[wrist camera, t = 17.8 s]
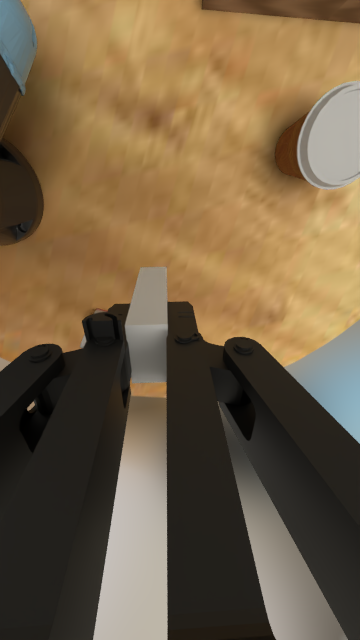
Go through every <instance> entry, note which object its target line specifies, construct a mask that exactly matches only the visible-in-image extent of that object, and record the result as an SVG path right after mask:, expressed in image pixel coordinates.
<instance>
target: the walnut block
mask: <svg viewBox="0 0 360 640" xmlns="http://www.w3.org/2000/svg"><path fill="white" fill-rule="evenodd" d="M202 9H207V10H218V11H229V12H240V13H251V14H263V15H274V16H285V17H296V18H308V19H319V20H330V21H341V22H352V23H360V0H202Z"/></svg>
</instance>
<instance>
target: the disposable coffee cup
mask: <svg viewBox="0 0 360 640" xmlns="http://www.w3.org/2000/svg"><path fill="white" fill-rule="evenodd" d="M275 159H276V163H277V166H278V167H279V169H280V170H281V171H282V172H283V173H285V174H288V175H291V176H294V177H297V178H300V179H304V180H307V181H308V182H309V183H310V184H312V185H313V186H315V187H318V188H321V189H326V190H328V189H337V188H341V187H344V186H346V185H348V184H350V183H352V182H353V181H355V180H356V179H358V178H359V177H360V81H352V82H347V83H343V84H341V85H339V86H337V87H334V88H333V89H331V90H330V91H328V92H327V93H326V94H325V95H324V96H322V97H321V98H320V99H319V100H318V101H317V103H316V104H315V105H314V106H313V107H312V109H311V110H310V111H309V112H308V113H307V114H305V115H304V116H303V117H302V118H301V119H299V120H298V121H297V122H296V123H294V124H293V125H292V126H290V127H289V128H288V129H287V130H286V131H285V132H284V133H283V134H282V135H281V137H280V139H279V141H278V143H277V146H276V151H275Z"/></svg>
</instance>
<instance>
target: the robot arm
mask: <svg viewBox="0 0 360 640" xmlns="http://www.w3.org/2000/svg"><path fill="white" fill-rule="evenodd" d="M36 52H37V38H36V33H35V30H34V26H33V24H32V21H31V19H30V17H29V15H28V13H27V11H26V9H25V8H24V6H23V4H22V3H21V1H20V0H0V246H2V245H10V244H13V243H16V242H19V241H21V240H23V239H25V238H27V237H29V236H30V235H31V234H32V233H33V232H34V231H35V230H36V229H37V227H38V225H39V223H40V221H41V218H42V214H43V195H42V190H41V187H40V184H39V181H38V179H37V176H36V174H35V172H34V171H33V169H32V167H31V166H30V164H29V163H28V161H27V160H26V159H25V158H24V156H23V155H22V154H21V153H20V152H19V151H18V150H17V149H16V148H15V147H14V146H13V145H12V144H10V143H9V142H8V141H6V140H5V139H3V138H2V137H3V135H4V132H5V130H6V128H7V126H8V123H9V121H10V119H11V117H12V114H13V112H14V110H15V108H16V105H17V103H18V101H19V99H20V96H21V95H22V96H24V94H25V92H26V88H25V83H26V80H27V77H28V75H29V72H30V69H31V66H32V64H33V61H34V59H35V56H36ZM82 324H83V328H84V333H85V337H86V343H85V345H84V347H83V348H82V349H78V350H75V351H70V352H66V353H63V352H62V348H61V347H59V346H58V345H55V344H42V345H37V346H35V347H32V348H30V349H28V350H27V351H25V352H23V353H22V354H21V355H20V356H19V357H17V358H16V359H15V360H14V361H12V362H11V363H10V364H9V365H8V366H6V367H5V368H4V369H3V370H2V371H1V372H0V640H93V635H94V629H95V622H96V616H97V609H98V603H99V597H100V590H101V583H102V577H103V570H104V564H105V557H106V551H107V545H108V539H109V532H110V526H111V519H112V513H113V506H114V499H115V493H116V486H117V480H118V473H119V467H120V461H121V454H122V448H123V441H124V435H125V428H126V421H127V415H128V409H129V402H130V396H131V389H130V378H132V383H151V382H167V571H168V572H167V573H168V574H167V580H168V582H167V585H168V586H167V587H168V640H276V639H275V637H274V635H273V632H272V629H271V626H270V624H269V620H268V617H267V613H266V609H265V605H264V600H263V596H262V592H261V587H260V583H259V579H258V575H257V570H256V566H255V562H254V557H253V553H252V549H251V544H250V540H249V536H248V531H247V527H246V523H245V518H244V514H243V510H242V505H241V501H240V497H239V493H238V488H237V484H236V480H235V475H234V471H233V467H232V463H231V458H230V454H229V449H228V445H227V441H226V436H225V432H224V428H223V423H222V419H221V415H220V410H219V406H218V402H219V405H220V407H221V409H222V411H223V413H224V415H225V416H226V418H227V420H228V422H229V423H230V425H231V427H232V429H233V431H234V433H235V434H236V436H237V438H238V440H239V442H240V444H241V445H242V447H243V449H244V451H245V453H246V455H247V456H248V458H249V460H250V462H251V464H252V465H253V467H254V469H255V471H256V473H257V474H258V476H259V478H260V480H261V482H262V484H263V486H264V487H265V489H266V491H267V493H268V495H269V496H270V498H271V500H272V502H273V504H274V505H275V507H276V509H277V511H278V513H279V515H280V517H281V518H282V520H283V522H284V524H285V525H286V527H287V529H288V531H289V533H290V535H291V537H292V538H293V540H294V542H295V544H296V545H297V547H298V549H299V551H300V553H301V555H302V557H303V558H304V560H305V562H306V564H307V565H308V567H309V569H310V571H311V573H312V575H313V577H314V578H315V580H316V582H317V584H318V586H319V588H320V589H321V591H322V593H323V595H324V597H325V598H326V600H327V602H328V604H329V606H330V608H331V609H332V611H333V613H334V615H335V617H336V618H337V620H338V622H339V624H340V626H341V627H342V629H343V631H344V633H345V635H346V637H347V638H348V640H360V444H359V443H358V442H357V441H356V440H355V439H354V438H353V437H352V436H351V435H350V434H349V433H348V432H347V431H346V430H345V429H344V428H343V427H342V426H341V425H340V424H339V423H338V422H337V421H336V420H335V419H334V418H333V417H332V416H331V415H330V414H329V413H328V412H327V411H326V410H325V409H324V408H323V407H322V406H321V405H320V404H319V403H318V402H317V401H316V400H315V399H314V398H313V397H312V396H311V395H310V394H309V393H308V392H307V391H306V390H305V389H304V388H303V387H302V386H301V385H300V384H299V383H298V382H297V381H296V380H295V379H294V378H293V377H292V376H291V375H290V374H289V373H288V372H287V371H286V370H285V369H284V367H283V366H282V365H281V364H280V363H279V362H278V361H277V360H276V359H275V358H274V357H273V356H272V355H271V354H270V353H269V352H268V351H267V350H266V349H265V348H264V347H263V346H262V345H261V344H259V343H258V342H256V341H255V340H252V339H250V338H246V337H234V338H231V339H228V340H227V341H226V342H225V344H224V346H219V345H214V344H210V343H208V342H206V341H204V340H203V337H202V336H201V334H200V333H198V329H197V324H196V319H195V315H194V310H193V306H192V305H191V304H190V303H189V302H167V269H166V267H141V268H140V271H139V275H138V279H137V282H136V286H135V290H134V293H133V297H132V301H131V304H114V305H113V306H112V307H111V308H109V309H108V312H99V313H95V314H92V315H89V316H88V317H86V318H85V319H84V320H83V321H82ZM33 401H34V403H35V406H34V407H33V408H32V409H31V410H29V411H27V407H28V406H29V405H30V404H31V403H32V402H33ZM217 401H218V402H217Z"/></svg>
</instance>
